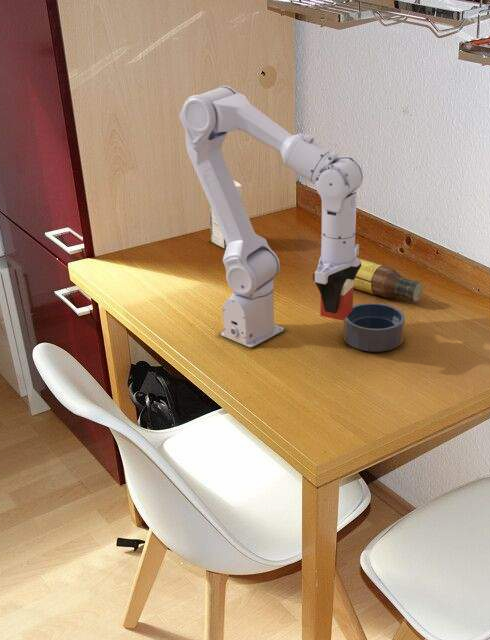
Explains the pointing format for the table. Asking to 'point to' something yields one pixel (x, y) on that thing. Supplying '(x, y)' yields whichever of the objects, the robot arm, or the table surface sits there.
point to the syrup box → (215, 230)
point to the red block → (342, 302)
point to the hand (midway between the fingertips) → (336, 306)
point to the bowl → (374, 327)
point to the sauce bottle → (385, 282)
